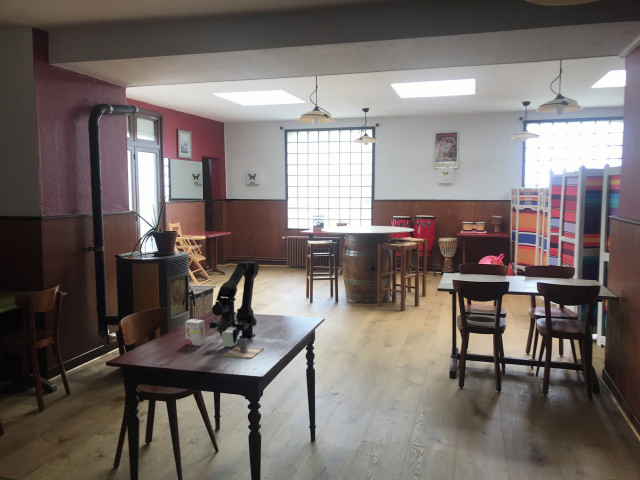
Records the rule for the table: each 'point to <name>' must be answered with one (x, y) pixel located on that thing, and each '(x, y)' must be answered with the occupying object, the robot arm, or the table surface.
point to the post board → (249, 354)
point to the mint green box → (228, 338)
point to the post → (243, 345)
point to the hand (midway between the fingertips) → (229, 342)
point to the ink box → (195, 332)
